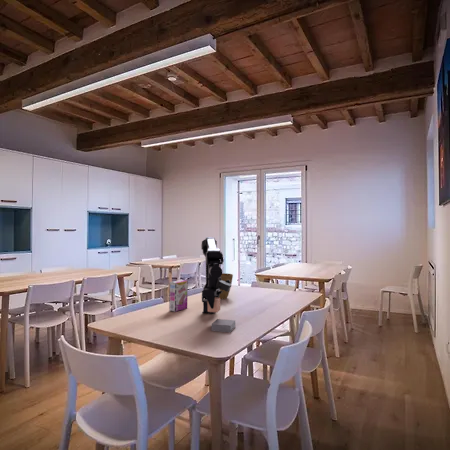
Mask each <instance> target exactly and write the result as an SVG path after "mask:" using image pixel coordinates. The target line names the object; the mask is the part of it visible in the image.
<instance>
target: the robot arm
mask: <svg viewBox="0 0 450 450" xmlns="http://www.w3.org/2000/svg"><path fill="white" fill-rule="evenodd" d="M217 244H218V243H217V240H216V238H215V237H213V236H212V237H211V236H208V237H205V239H203V240H202V241H201V245H200V246H201V247H200V248H201V250H202V255H204V258H205V283H204V286H203V289H202V291H201V302H202V303H203V308H202V314H210V315H212V314H213V315H214V314H215V313H216V312H208V303H209V305H210V307H211V308H212V309H213V308H214V301H215V297H219V295H220V294H221V293H222V292H223V291H220V290H219V289H222V290H225V291H226V292H228V291H229V290H230V291H231V288H232V284H231V282H230V280H227V281H222V280H221V275H222V273H223V269H222V267H221V265H223V264H224V261H225V260H224V255H223V253H222V251H221V249H220V248H219V247H218V245H217ZM230 287H231V288H230ZM230 291H229V292H230ZM207 301H208V303H207Z"/></svg>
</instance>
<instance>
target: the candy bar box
mask: <svg viewBox="0 0 450 450" xmlns="http://www.w3.org/2000/svg"><path fill="white" fill-rule="evenodd" d="M188 284H189V281H188V280H186V279H179V280H176V281H175V280H174V281H170V282H169V297H168V298H169V305H168V311H169V312H173V313H177V312H179V311H180V312H181V311H183V310H186V309H188V291H189V290H188V288H189V287H188V286H189V285H188Z"/></svg>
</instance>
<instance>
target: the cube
mask: <svg viewBox="0 0 450 450" xmlns="http://www.w3.org/2000/svg"><path fill="white" fill-rule="evenodd" d="M207 303H208V301H207ZM220 311H221V299H220V298H219V297H215V301H214V308H213V309H212V308H211V307H210V305H209V303H208V312H215V313H219V312H220Z"/></svg>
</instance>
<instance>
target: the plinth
mask: <svg viewBox="0 0 450 450" xmlns="http://www.w3.org/2000/svg"><path fill="white" fill-rule="evenodd" d="M210 327H211V329H210V330H211V332H222V333H231V332H232V331H233V330H234V329H235V328H236V320H235V319H222V318H217V319H216V320H214V321H213V322H212V323H211V325H210Z"/></svg>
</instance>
